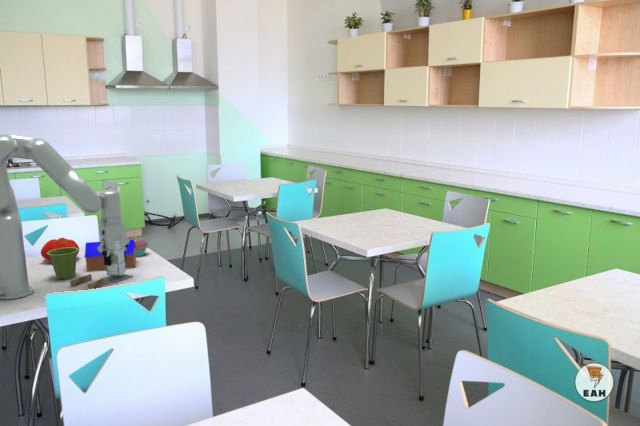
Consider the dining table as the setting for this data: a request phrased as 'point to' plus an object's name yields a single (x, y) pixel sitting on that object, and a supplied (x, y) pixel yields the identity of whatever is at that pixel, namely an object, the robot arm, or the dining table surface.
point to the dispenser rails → (89, 278)
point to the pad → (118, 278)
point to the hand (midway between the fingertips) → (115, 262)
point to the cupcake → (140, 246)
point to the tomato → (57, 246)
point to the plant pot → (64, 261)
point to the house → (97, 260)
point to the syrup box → (116, 261)
